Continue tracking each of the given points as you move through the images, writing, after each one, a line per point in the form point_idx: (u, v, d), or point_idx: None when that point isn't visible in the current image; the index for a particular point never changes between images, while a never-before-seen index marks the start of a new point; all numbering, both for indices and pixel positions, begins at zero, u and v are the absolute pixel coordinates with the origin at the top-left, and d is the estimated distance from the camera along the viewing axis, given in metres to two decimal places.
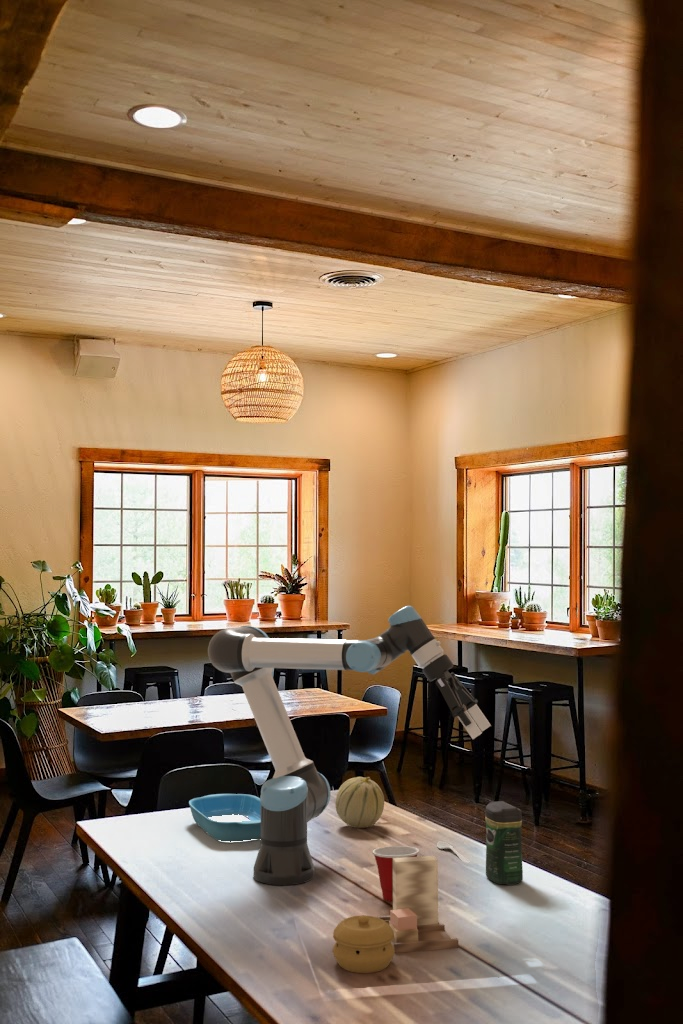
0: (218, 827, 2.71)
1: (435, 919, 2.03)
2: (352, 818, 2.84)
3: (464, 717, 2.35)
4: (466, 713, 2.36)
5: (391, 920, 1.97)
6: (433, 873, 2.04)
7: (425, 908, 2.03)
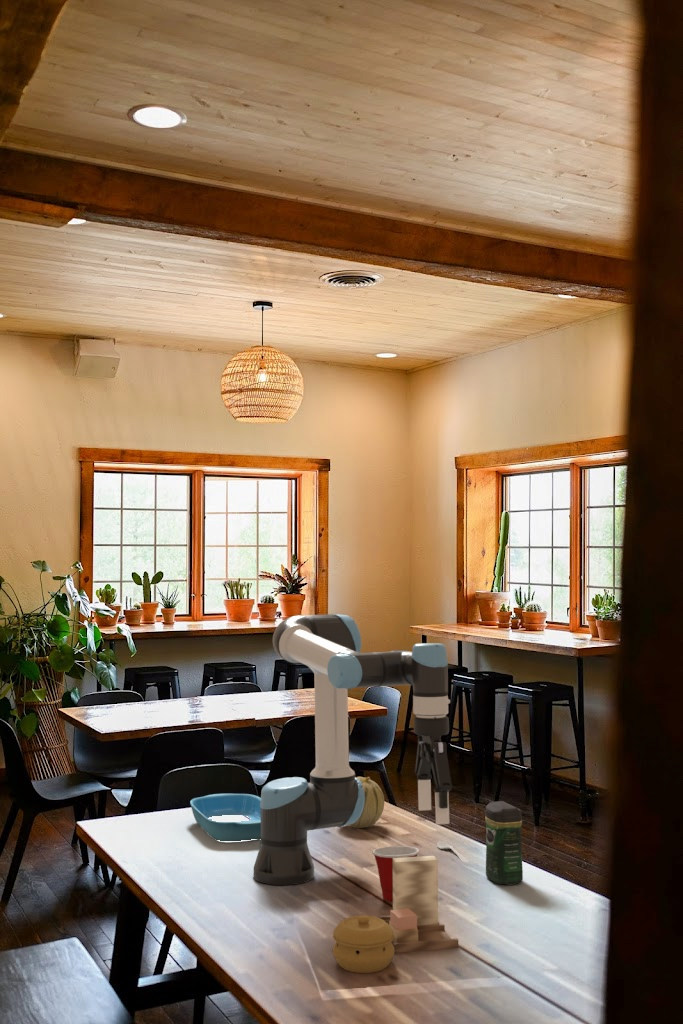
0: (216, 827, 2.71)
1: (435, 919, 2.03)
2: None
3: (445, 798, 2.00)
4: (447, 794, 2.01)
5: (391, 920, 1.97)
6: (433, 873, 2.04)
7: (425, 908, 2.03)
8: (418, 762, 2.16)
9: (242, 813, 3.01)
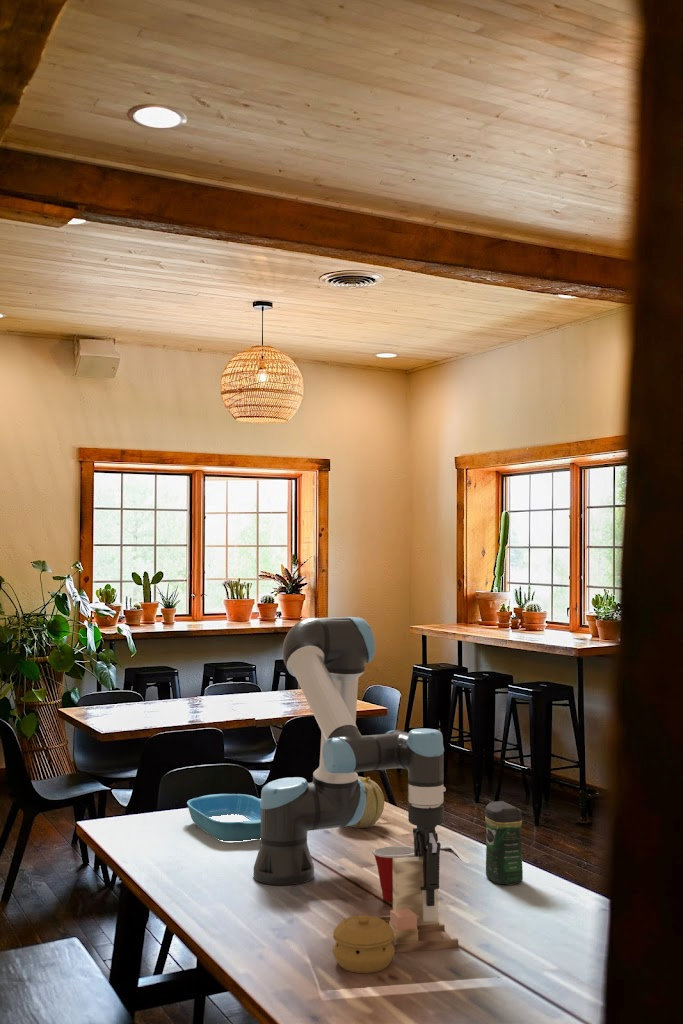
0: (221, 827, 2.71)
1: None
2: None
3: (432, 896, 2.01)
4: (434, 891, 2.03)
5: (391, 920, 1.97)
6: None
7: None
8: None
9: (237, 813, 3.01)
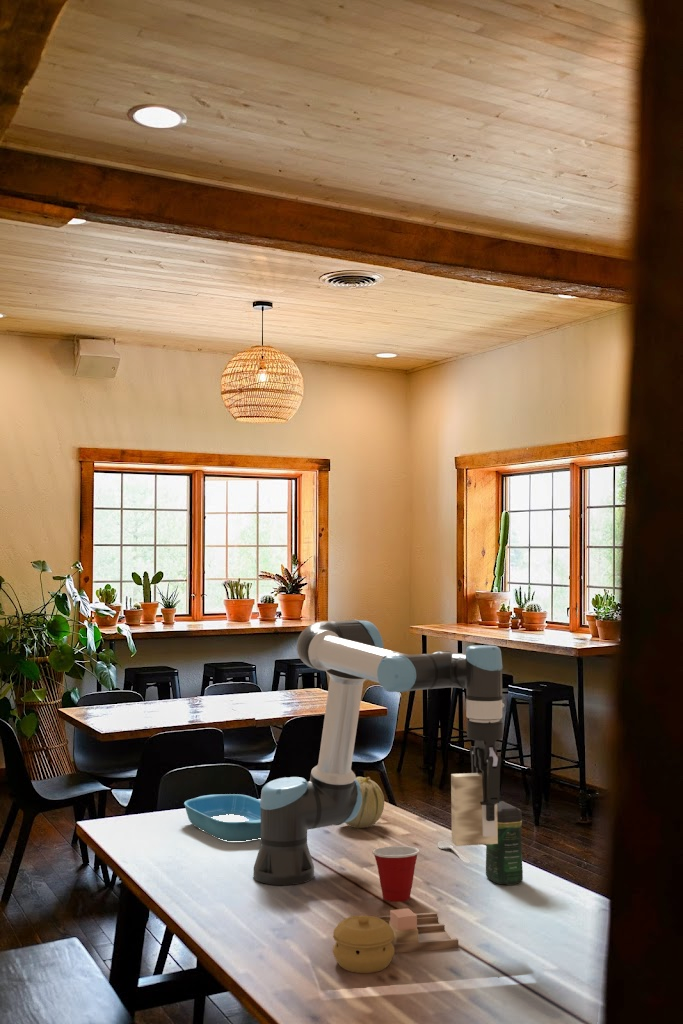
0: (226, 827, 2.71)
1: None
2: None
3: (492, 811, 2.00)
4: (494, 807, 2.01)
5: (391, 920, 1.97)
6: None
7: None
8: None
9: (233, 813, 3.01)
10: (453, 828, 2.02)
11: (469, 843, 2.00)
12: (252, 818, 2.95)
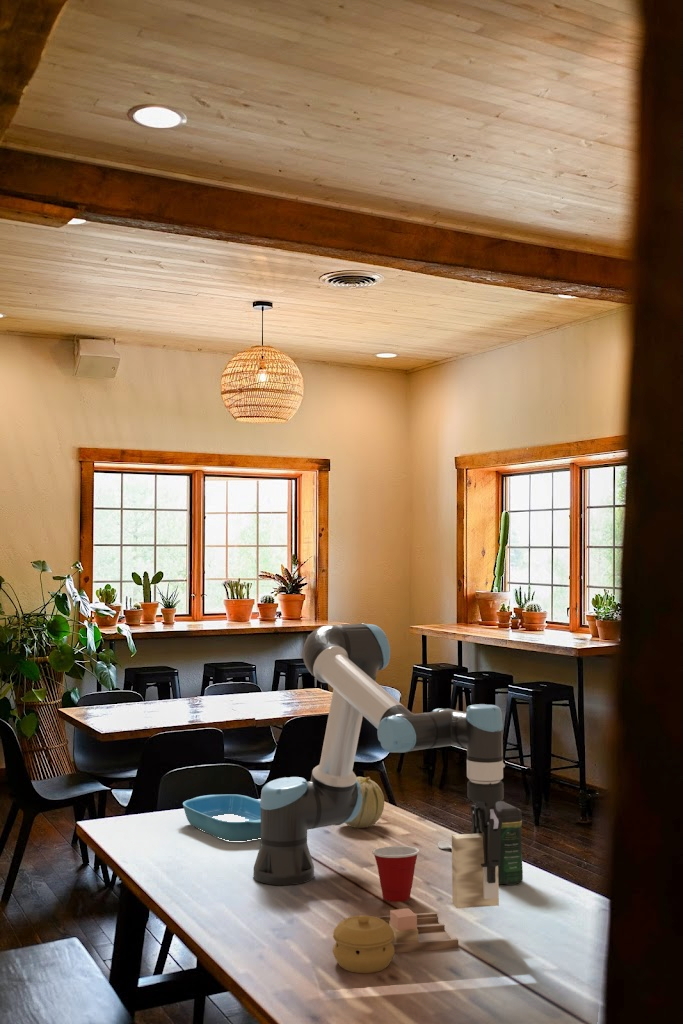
0: (229, 827, 2.71)
1: None
2: None
3: (493, 873, 1.99)
4: (494, 868, 2.00)
5: (391, 920, 1.97)
6: None
7: None
8: None
9: (230, 813, 3.01)
10: (454, 890, 2.01)
11: (470, 905, 1.99)
12: (250, 818, 2.95)
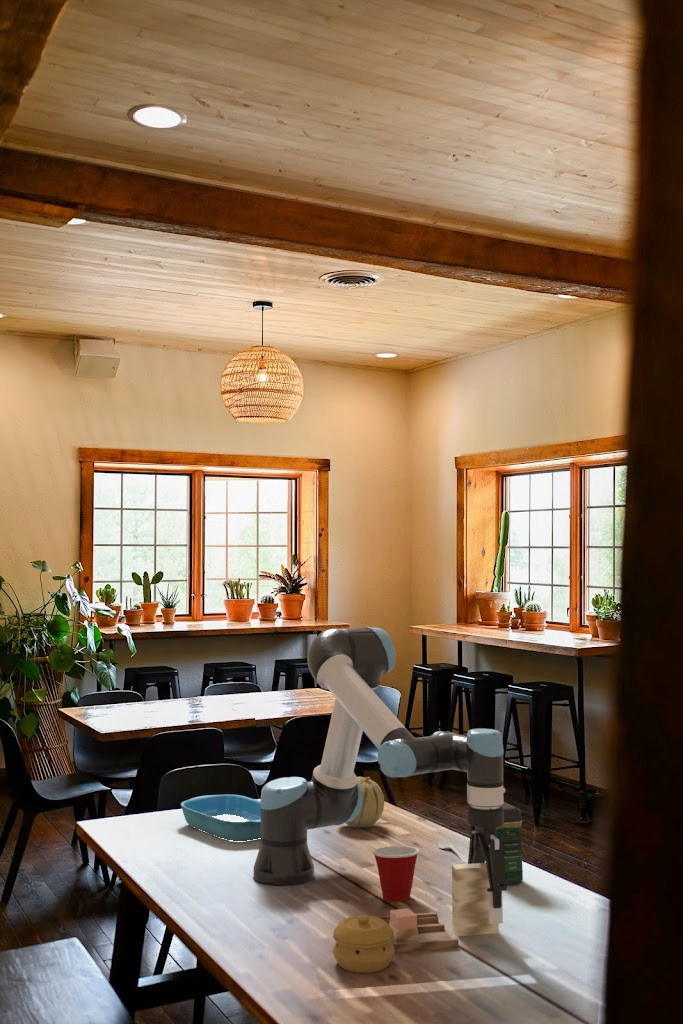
0: (233, 827, 2.71)
1: (496, 927, 2.00)
2: None
3: (499, 898, 1.95)
4: (500, 893, 1.96)
5: (391, 920, 1.97)
6: None
7: (485, 916, 2.00)
8: (471, 853, 2.09)
9: None
10: (454, 920, 2.00)
11: None
12: (248, 818, 2.96)
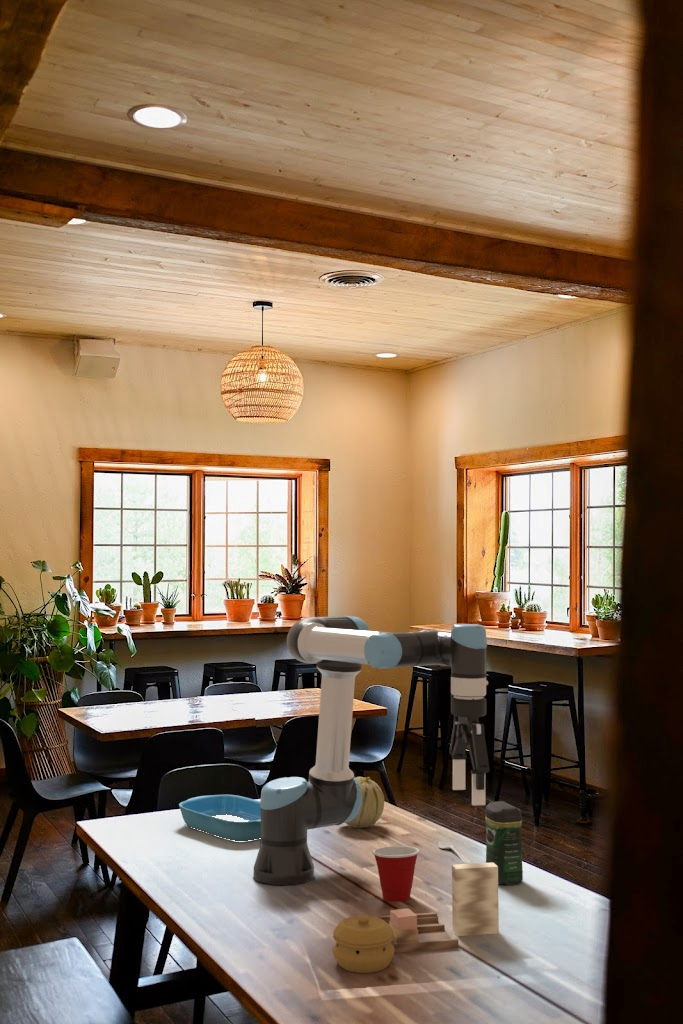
0: (237, 827, 2.71)
1: (496, 927, 2.00)
2: None
3: (482, 780, 1.99)
4: (484, 776, 2.01)
5: (391, 920, 1.97)
6: (493, 880, 2.01)
7: (485, 916, 2.00)
8: (453, 742, 2.15)
9: (223, 814, 3.00)
10: (454, 920, 2.00)
11: None
12: (246, 817, 2.96)
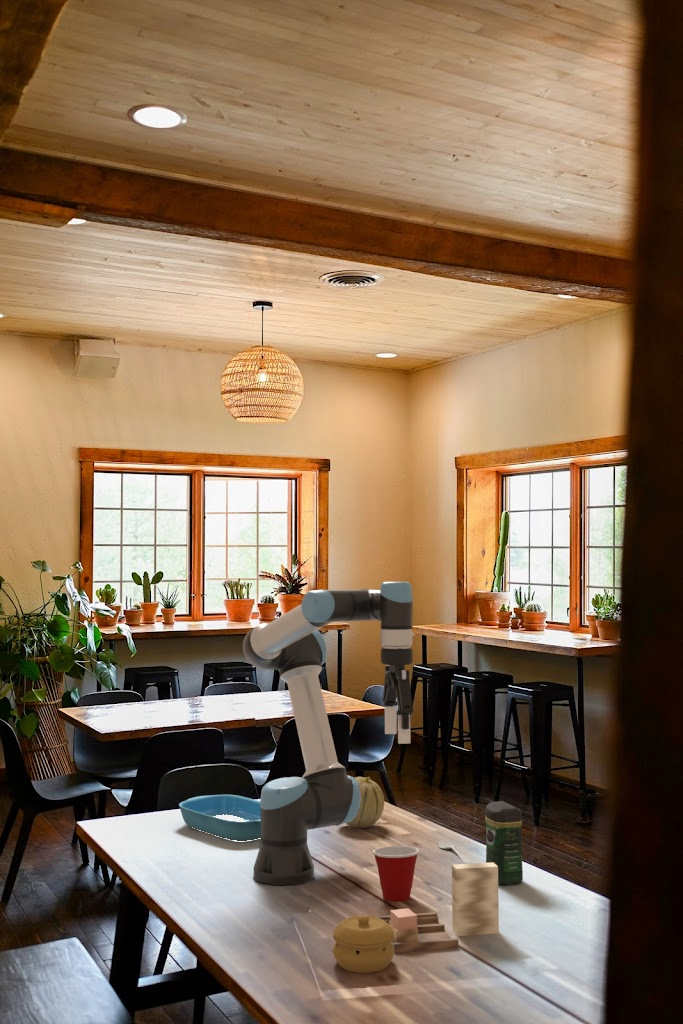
0: (237, 827, 2.71)
1: (496, 927, 2.00)
2: None
3: (407, 720, 2.20)
4: (408, 717, 2.21)
5: (391, 920, 1.97)
6: (493, 880, 2.01)
7: (485, 916, 2.00)
8: (385, 690, 2.36)
9: None
10: (454, 920, 2.00)
11: None
12: (246, 817, 2.96)
